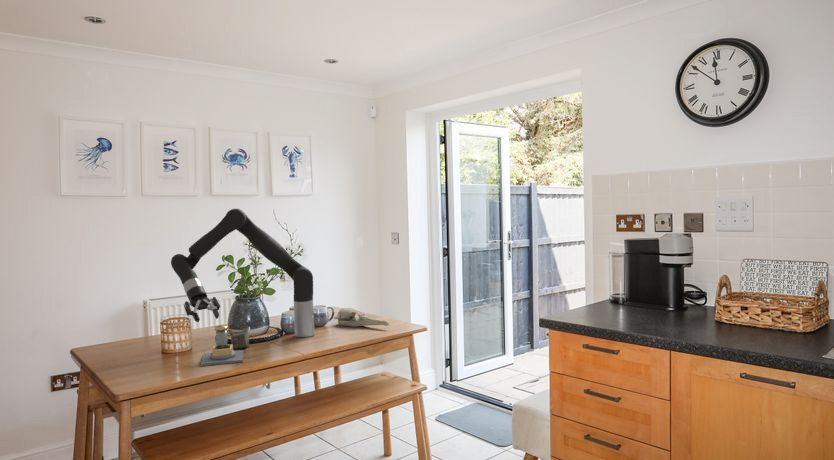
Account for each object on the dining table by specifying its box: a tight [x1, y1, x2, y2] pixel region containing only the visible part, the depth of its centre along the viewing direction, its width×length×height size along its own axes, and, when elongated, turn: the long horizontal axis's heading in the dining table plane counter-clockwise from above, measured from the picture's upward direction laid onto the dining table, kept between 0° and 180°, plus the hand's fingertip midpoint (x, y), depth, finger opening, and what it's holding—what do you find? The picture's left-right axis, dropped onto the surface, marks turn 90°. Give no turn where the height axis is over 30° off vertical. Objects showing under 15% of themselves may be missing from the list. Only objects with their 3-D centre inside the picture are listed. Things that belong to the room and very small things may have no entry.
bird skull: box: [333, 307, 390, 328], centre depth 280 cm, size 8×32×10 cm, turn 60°
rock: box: [230, 327, 250, 350], centre depth 246 cm, size 17×7×10 cm
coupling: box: [214, 324, 229, 349], centre depth 225 cm, size 5×5×11 cm
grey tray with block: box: [200, 343, 245, 367], centre depth 225 cm, size 16×16×5 cm
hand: (208, 319), depth 233 cm, fingers open, 8 cm apart
